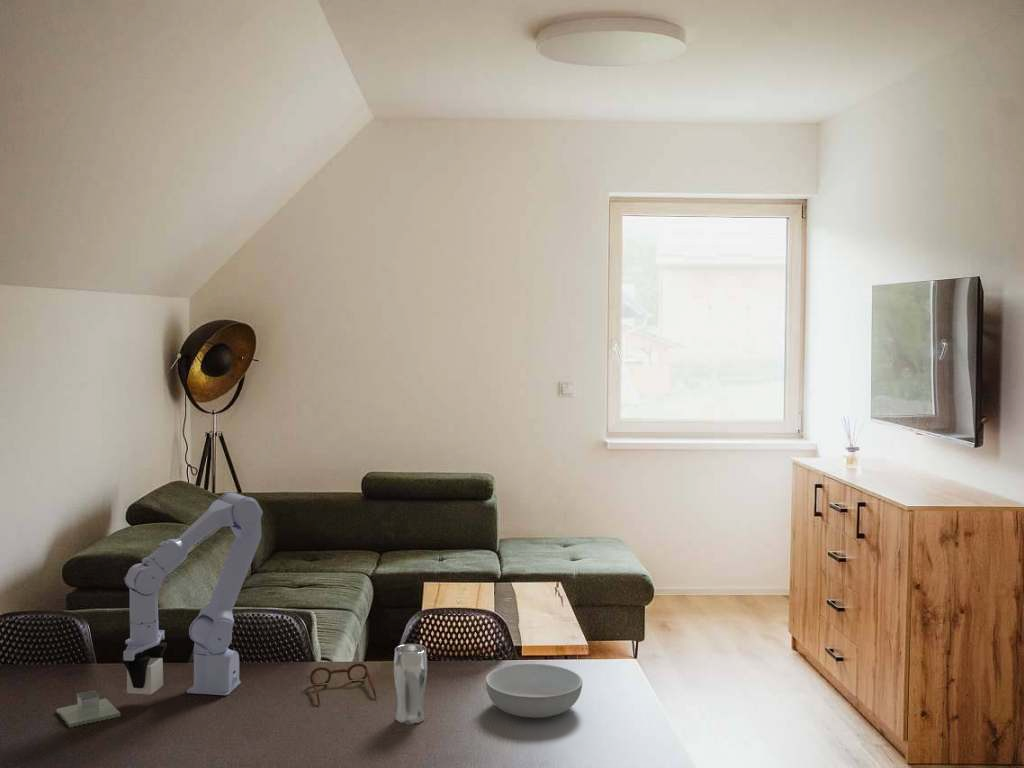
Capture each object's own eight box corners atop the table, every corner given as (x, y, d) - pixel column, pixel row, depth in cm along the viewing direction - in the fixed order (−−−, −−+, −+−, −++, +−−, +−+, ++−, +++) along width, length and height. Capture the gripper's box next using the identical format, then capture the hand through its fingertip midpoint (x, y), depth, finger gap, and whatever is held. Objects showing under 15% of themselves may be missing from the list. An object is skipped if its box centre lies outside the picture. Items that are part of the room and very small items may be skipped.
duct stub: (105, 701, 219) (105, 682, 219) (120, 716, 212) (120, 696, 211) (56, 712, 213) (56, 692, 213) (69, 728, 205) (69, 707, 205)
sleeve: (163, 685, 220) (162, 658, 220) (151, 694, 215) (150, 666, 215) (139, 683, 221) (139, 657, 221) (127, 693, 216) (126, 665, 215)
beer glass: (421, 727, 208) (421, 655, 207) (389, 723, 209) (389, 652, 208) (430, 714, 215) (431, 644, 214) (399, 711, 216) (399, 642, 215)
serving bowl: (601, 709, 219) (602, 678, 218) (537, 738, 203) (537, 705, 203) (530, 685, 233) (530, 655, 232) (464, 710, 218) (465, 678, 217)
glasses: (367, 682, 234) (367, 661, 234) (378, 702, 222) (378, 680, 222) (309, 688, 230) (309, 666, 230) (317, 709, 218) (317, 686, 218)
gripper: (142, 609, 225) (143, 669, 226) (109, 630, 210) (110, 693, 211) (173, 611, 224) (174, 671, 225) (141, 631, 209) (142, 695, 210)
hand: (145, 682), depth 218 cm, fingers closed on sleeve, 5 cm apart
